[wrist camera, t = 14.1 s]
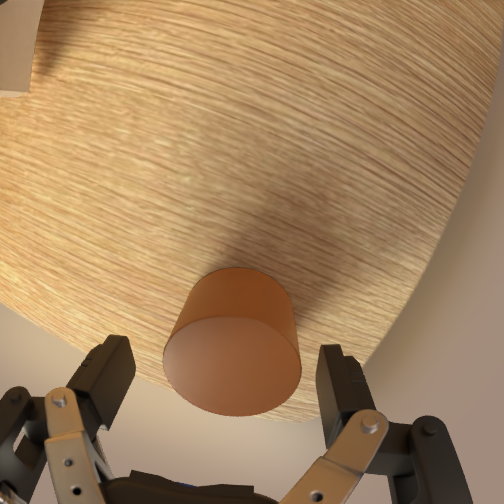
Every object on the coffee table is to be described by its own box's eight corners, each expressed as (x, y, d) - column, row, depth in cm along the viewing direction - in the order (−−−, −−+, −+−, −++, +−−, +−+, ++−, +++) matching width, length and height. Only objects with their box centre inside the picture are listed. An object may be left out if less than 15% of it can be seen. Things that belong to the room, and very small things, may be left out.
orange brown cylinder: (289, 359, 16) (294, 418, 12) (191, 355, 16) (173, 410, 12) (297, 268, 14) (309, 317, 10) (181, 265, 15) (152, 311, 10)
